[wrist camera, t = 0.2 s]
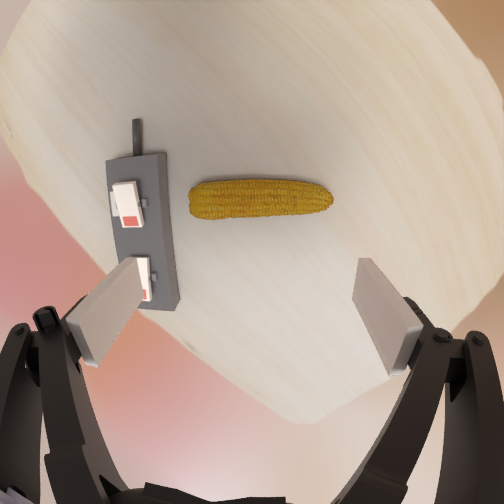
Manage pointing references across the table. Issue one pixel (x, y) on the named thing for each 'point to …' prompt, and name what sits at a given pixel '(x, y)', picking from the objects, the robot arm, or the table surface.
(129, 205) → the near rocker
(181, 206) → the table surface
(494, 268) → the table surface
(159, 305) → the power strip
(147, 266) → the far rocker
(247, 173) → the table surface
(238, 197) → the food
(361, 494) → the robot arm
